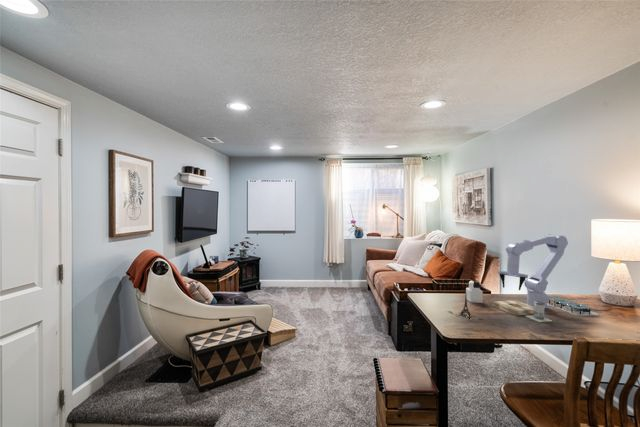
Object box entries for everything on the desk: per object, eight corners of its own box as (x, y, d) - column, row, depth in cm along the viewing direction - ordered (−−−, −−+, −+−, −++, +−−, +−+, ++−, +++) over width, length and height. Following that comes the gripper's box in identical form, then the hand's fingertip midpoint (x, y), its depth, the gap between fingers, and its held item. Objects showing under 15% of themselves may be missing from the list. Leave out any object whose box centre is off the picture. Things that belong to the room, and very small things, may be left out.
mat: (537, 315, 158) (537, 314, 158) (552, 321, 150) (552, 320, 150) (525, 316, 157) (525, 315, 157) (539, 322, 149) (539, 321, 149)
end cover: (537, 316, 156) (538, 301, 156) (546, 319, 152) (546, 303, 152) (531, 316, 155) (531, 301, 155) (539, 320, 151) (540, 304, 151)
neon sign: (623, 306, 164) (578, 309, 159) (623, 314, 164) (578, 316, 159) (583, 295, 185) (542, 297, 180) (582, 302, 185) (542, 304, 180)
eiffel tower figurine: (446, 312, 163) (446, 287, 162) (461, 310, 166) (461, 286, 166) (468, 322, 148) (469, 295, 148) (483, 320, 152) (484, 294, 152)
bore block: (515, 304, 177) (515, 300, 177) (540, 314, 161) (540, 309, 161) (492, 305, 173) (492, 301, 173) (515, 315, 158) (515, 310, 158)
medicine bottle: (477, 299, 186) (478, 280, 185) (482, 303, 179) (483, 283, 178) (465, 298, 186) (466, 279, 186) (470, 302, 179) (470, 282, 179)
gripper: (498, 264, 173) (496, 287, 173) (528, 268, 165) (527, 292, 165) (498, 262, 179) (497, 285, 179) (528, 266, 171) (526, 290, 171)
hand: (511, 288), depth 173 cm, fingers open, 7 cm apart
